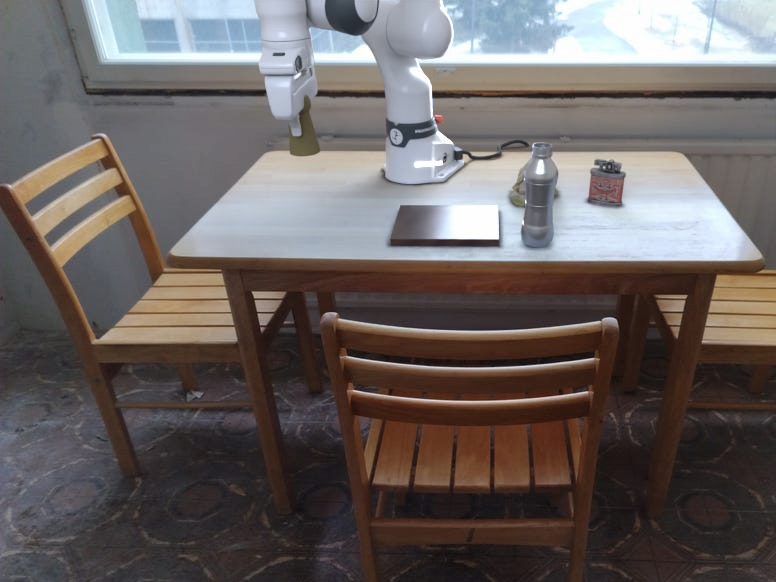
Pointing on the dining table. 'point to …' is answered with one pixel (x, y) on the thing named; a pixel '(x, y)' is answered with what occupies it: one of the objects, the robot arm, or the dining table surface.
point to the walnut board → (446, 225)
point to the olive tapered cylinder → (304, 134)
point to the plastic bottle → (539, 196)
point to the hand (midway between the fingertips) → (301, 130)
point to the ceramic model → (521, 188)
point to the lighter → (606, 183)
